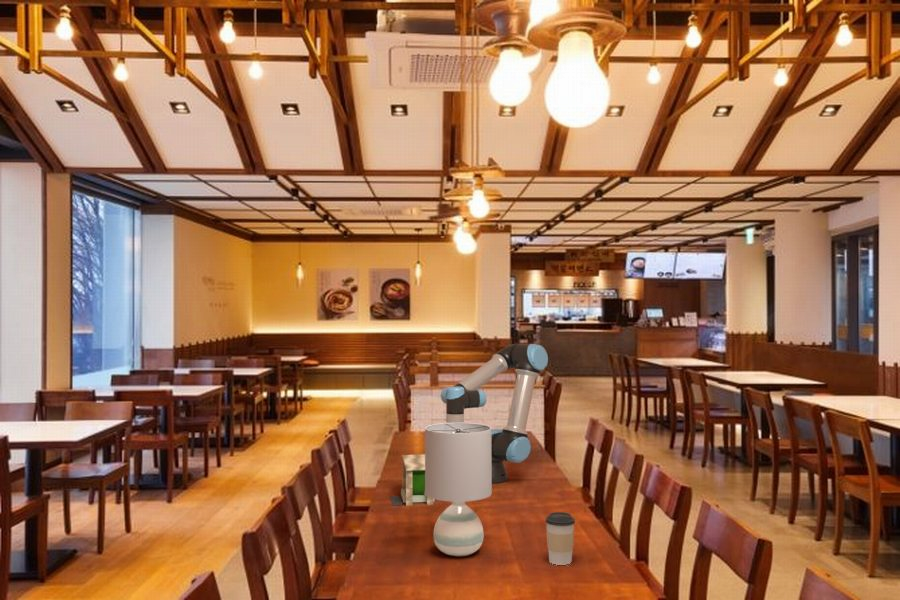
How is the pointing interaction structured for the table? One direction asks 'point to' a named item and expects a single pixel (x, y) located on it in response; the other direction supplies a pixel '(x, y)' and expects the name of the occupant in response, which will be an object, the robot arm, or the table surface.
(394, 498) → the pit mat
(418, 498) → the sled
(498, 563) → the table surface
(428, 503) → the bridge
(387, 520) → the table surface
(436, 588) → the table surface
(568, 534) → the coffee cup
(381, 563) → the table surface
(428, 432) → the lamp
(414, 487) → the cup
